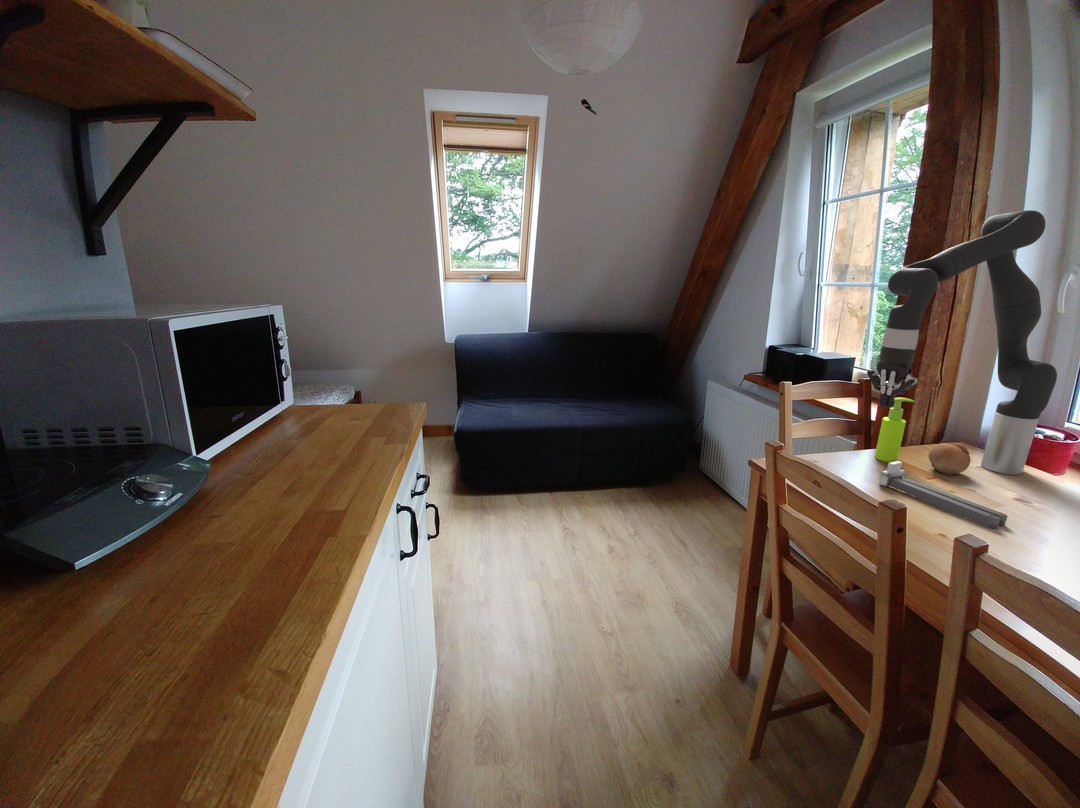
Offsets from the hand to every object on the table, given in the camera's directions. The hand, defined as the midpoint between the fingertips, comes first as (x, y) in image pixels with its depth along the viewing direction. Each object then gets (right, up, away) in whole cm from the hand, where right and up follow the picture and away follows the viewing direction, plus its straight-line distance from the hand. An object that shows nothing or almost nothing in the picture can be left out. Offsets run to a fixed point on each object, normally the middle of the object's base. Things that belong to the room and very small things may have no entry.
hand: (885, 407), depth 134 cm
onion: (+25, -20, +9) cm, 33 cm away
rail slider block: (+2, -21, +1) cm, 21 cm away
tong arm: (+9, -25, -11) cm, 28 cm away
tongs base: (+7, -25, -10) cm, 27 cm away
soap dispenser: (+14, -17, +19) cm, 29 cm away
